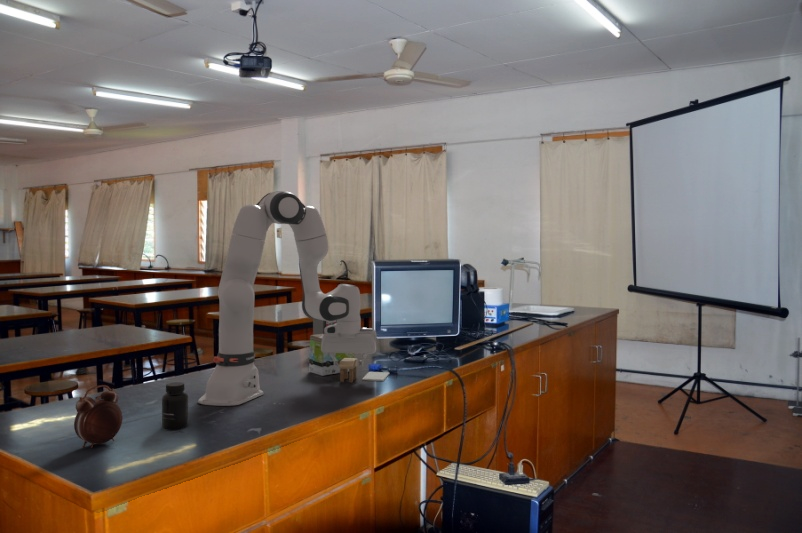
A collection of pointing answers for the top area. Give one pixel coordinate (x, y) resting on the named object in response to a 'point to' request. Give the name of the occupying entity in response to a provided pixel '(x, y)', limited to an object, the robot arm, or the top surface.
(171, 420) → the supplement bottle
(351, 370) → the tan pronged block
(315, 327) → the grey game cartridge
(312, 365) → the tea box
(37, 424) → the top surface
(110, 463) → the top surface
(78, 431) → the alarm clock
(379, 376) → the mat
